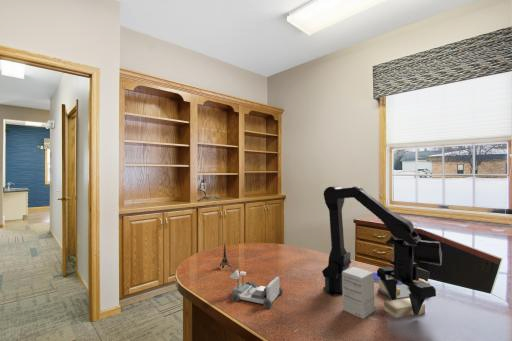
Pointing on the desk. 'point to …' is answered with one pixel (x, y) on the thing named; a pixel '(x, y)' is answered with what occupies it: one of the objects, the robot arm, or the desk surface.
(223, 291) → the desk surface
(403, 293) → the peg base
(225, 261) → the eiffel tower figurine
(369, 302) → the supplement box
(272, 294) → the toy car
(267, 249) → the desk surface
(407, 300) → the board
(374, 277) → the hard drive
